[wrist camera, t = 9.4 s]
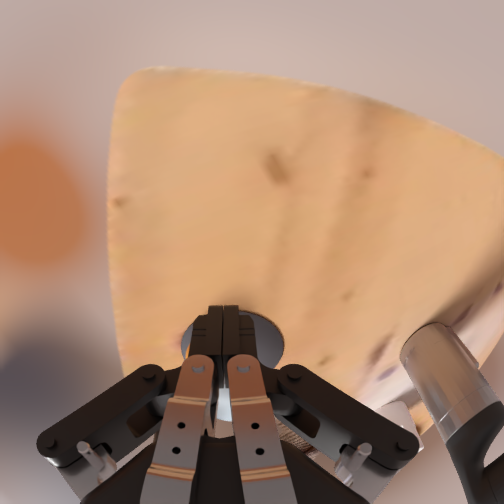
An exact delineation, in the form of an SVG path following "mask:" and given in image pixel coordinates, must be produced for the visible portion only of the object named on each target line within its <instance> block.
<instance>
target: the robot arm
mask: <svg viewBox="0 0 504 504" xmlns="http://www.w3.org/2000/svg"><path fill="white" fill-rule="evenodd" d="M400 361H401V363H402V364H403V366H404V368H405V370H406V371H407V373H408V375H409V377H410V379H411V380H412V382H413V384H414V386H415V388H416V389H417V391H418V393H419V395H420V397H421V398H422V400H423V402H424V404H425V406H426V408H427V410H428V412H429V413H430V415H431V417H432V419H433V421H434V423H435V425H436V427H437V429H438V431H439V433H440V434H441V437H442V439H443V441H444V443H445V445H446V447H447V449H448V451H449V453H450V455H451V458H452V461H453V463H454V466H455V468H456V470H457V473H458V475H459V478H460V480H461V483H462V485H463V489H464V492H465V495H466V498H467V501H468V504H504V453H503V454H502V455H501V456H500V457H498V458H497V459H496V460H494V461H493V462H492V463H490V464H489V465H488V466H487V467H485V468H484V463H483V462H484V458H485V455H486V453H487V451H488V449H489V447H490V445H491V443H492V442H493V440H494V439H495V437H496V436H497V434H498V433H499V432H500V430H501V429H502V427H503V426H504V405H503V404H502V403H501V401H500V400H499V398H498V396H497V395H496V393H495V392H494V391H493V389H492V388H491V386H490V385H489V383H488V382H487V381H486V379H485V378H484V376H483V375H482V374H481V372H480V371H479V370H478V367H479V363H478V362H477V360H476V359H475V358H474V356H473V355H472V354H471V352H470V351H469V350H468V349H467V347H466V346H465V345H464V344H463V342H462V341H461V340H460V339H459V337H458V336H457V335H456V334H455V333H454V331H453V330H452V329H451V328H450V327H445V326H444V325H443V324H441V323H432V324H429V325H427V326H425V327H423V328H421V329H420V330H418V331H417V332H416V333H415V334H413V335H412V336H411V337H410V339H409V340H408V341H407V342H406V343H405V345H404V347H403V348H402V350H401V354H400ZM224 377H225V388H229V398H230V408H231V417H232V425H233V433H234V436H231V437H226V438H220V439H219V438H215V426H216V419H217V410H218V398H219V389H222V388H224ZM274 415H275V417H276V418H277V419H278V420H279V421H281V422H282V423H283V424H285V425H286V426H287V427H288V428H290V429H291V430H292V431H293V432H295V433H296V434H297V435H299V436H300V437H301V438H303V439H304V440H305V441H307V442H308V443H309V444H311V445H312V446H313V447H315V448H316V449H318V450H319V451H320V452H322V453H323V454H325V455H326V456H327V457H329V458H330V459H332V460H333V461H335V462H336V463H335V467H334V468H335V473H336V475H337V476H338V477H339V478H340V479H341V480H342V481H343V483H344V484H343V483H342V482H341V481H339V480H338V479H337V478H335V477H334V476H332V475H331V474H330V473H328V472H327V471H326V470H324V469H323V468H322V467H321V466H319V465H318V464H317V463H315V462H314V461H313V460H312V459H310V458H309V457H308V456H307V455H305V454H304V453H303V452H302V451H301V450H299V449H298V448H297V447H295V446H294V445H292V444H290V443H288V442H285V441H283V440H280V439H279V434H278V430H277V426H276V422H275V418H274ZM159 429H160V432H159V436H158V440H157V441H155V442H153V443H151V444H150V445H148V446H147V447H145V448H144V449H143V450H142V451H141V452H140V453H138V454H137V455H136V456H135V457H134V458H132V459H131V460H130V461H129V462H128V463H126V464H125V465H124V466H123V467H122V468H120V469H119V470H118V471H116V470H117V465H116V463H117V462H118V461H120V460H121V459H122V458H124V457H125V456H126V455H127V454H129V453H130V452H131V451H133V450H134V449H135V448H137V447H138V446H139V445H140V444H142V443H143V442H144V441H146V440H147V439H148V438H149V437H150V436H152V435H153V434H154V433H156V432H157V431H158V430H159ZM36 444H37V449H38V451H39V453H40V454H41V455H42V456H44V457H45V458H46V459H47V460H48V461H49V463H50V464H51V465H52V466H54V467H55V468H56V469H57V470H58V471H59V472H60V473H61V475H62V476H63V477H64V479H65V480H66V482H67V483H68V484H69V486H70V487H71V488H72V490H73V491H74V492H75V494H76V495H77V496H78V497H79V499H80V500H81V502H80V504H372V503H373V502H374V501H375V500H376V498H377V497H378V496H379V495H380V494H381V492H382V491H383V490H384V489H385V487H386V486H387V485H388V483H389V482H390V480H391V479H392V478H393V476H394V475H396V474H397V473H398V472H399V471H400V470H401V469H402V468H403V467H404V466H405V465H406V464H407V463H408V462H409V461H410V460H412V459H413V458H414V457H415V455H416V454H417V453H418V451H419V447H420V444H419V440H418V438H417V437H416V436H415V435H414V434H413V433H411V432H409V431H408V430H406V429H404V428H402V427H401V426H399V425H397V424H395V423H394V422H392V421H390V420H388V419H387V418H385V417H383V416H381V415H380V414H378V413H376V412H375V411H373V410H371V409H370V408H368V407H366V406H365V405H363V404H361V403H360V402H358V401H357V400H355V399H353V398H352V397H350V396H349V395H347V394H345V393H344V392H342V391H341V390H339V389H337V388H336V387H334V386H333V385H331V384H330V383H328V382H327V381H325V380H323V379H322V378H320V377H319V376H317V375H316V374H314V373H313V372H311V371H310V370H308V369H307V368H305V367H304V366H301V365H298V364H289V365H286V366H284V367H282V368H281V369H280V370H277V369H272V368H269V367H266V366H265V365H263V364H262V363H261V362H260V361H259V359H258V356H257V347H256V337H255V328H254V321H253V319H252V318H251V317H250V315H239V310H238V305H224V310H223V306H209V308H208V315H199V316H198V317H197V318H196V319H195V321H194V323H193V330H192V336H191V341H190V347H189V354H188V358H187V359H185V360H184V362H183V364H182V366H180V367H178V368H176V369H171V370H167V371H164V370H163V369H162V368H161V367H160V366H158V365H154V364H148V365H144V366H141V367H140V368H138V369H137V370H135V371H134V372H132V373H131V374H130V375H128V376H127V377H125V378H124V379H122V380H121V381H119V382H118V383H116V384H115V385H114V386H112V387H110V388H109V389H108V390H106V391H105V392H103V393H102V394H100V395H99V396H97V397H96V398H94V399H93V400H91V401H90V402H88V403H87V404H85V405H84V406H82V407H81V408H79V409H77V410H76V411H74V412H73V413H71V414H70V415H68V416H67V417H65V418H64V419H62V420H61V421H59V422H57V423H56V424H54V425H53V426H52V427H50V428H48V429H47V430H45V431H43V432H42V433H41V434H40V435H39V436H38V439H37V443H36Z"/></svg>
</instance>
